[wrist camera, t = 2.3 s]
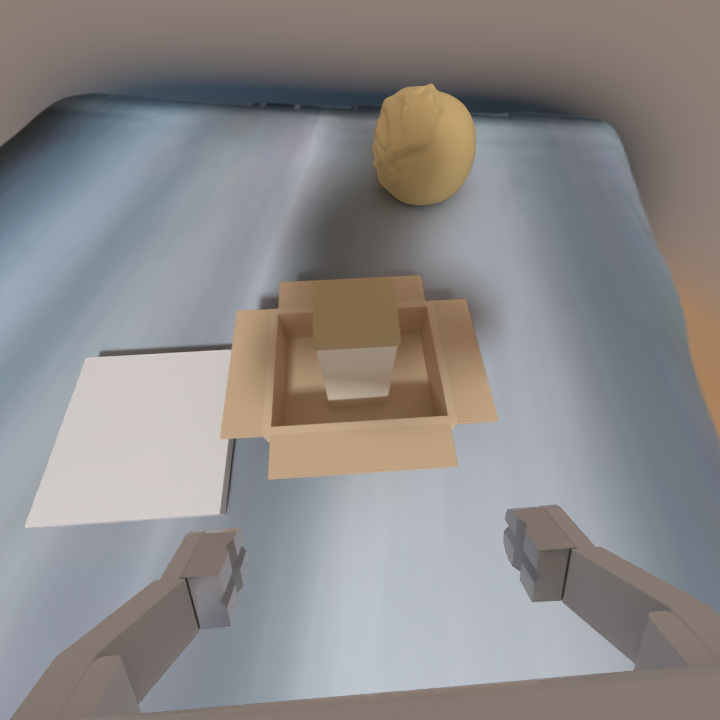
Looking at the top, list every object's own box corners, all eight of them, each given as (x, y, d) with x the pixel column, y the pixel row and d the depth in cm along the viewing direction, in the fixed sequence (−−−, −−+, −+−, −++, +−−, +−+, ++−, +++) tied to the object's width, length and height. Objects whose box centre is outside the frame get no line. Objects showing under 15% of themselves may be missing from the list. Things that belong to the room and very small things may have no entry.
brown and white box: (387, 404, 29) (401, 339, 20) (328, 408, 29) (312, 344, 19) (382, 357, 32) (392, 277, 22) (327, 360, 31) (312, 281, 22)
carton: (487, 473, 27) (509, 462, 23) (236, 490, 26) (213, 482, 22) (447, 302, 35) (459, 273, 31) (254, 313, 34) (240, 284, 30)
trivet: (225, 514, 26) (219, 513, 25) (38, 528, 25) (24, 527, 24) (243, 355, 32) (239, 349, 31) (95, 363, 32) (85, 357, 31)
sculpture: (369, 163, 46) (371, 67, 37) (454, 161, 47) (478, 64, 37) (373, 219, 41) (377, 124, 32) (470, 217, 41) (503, 121, 32)
